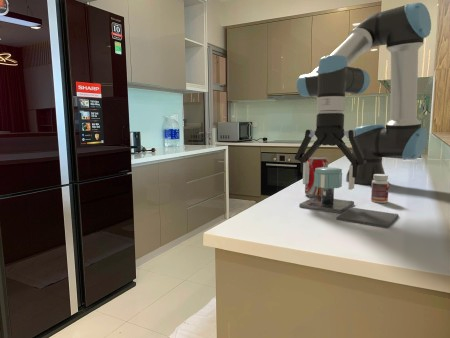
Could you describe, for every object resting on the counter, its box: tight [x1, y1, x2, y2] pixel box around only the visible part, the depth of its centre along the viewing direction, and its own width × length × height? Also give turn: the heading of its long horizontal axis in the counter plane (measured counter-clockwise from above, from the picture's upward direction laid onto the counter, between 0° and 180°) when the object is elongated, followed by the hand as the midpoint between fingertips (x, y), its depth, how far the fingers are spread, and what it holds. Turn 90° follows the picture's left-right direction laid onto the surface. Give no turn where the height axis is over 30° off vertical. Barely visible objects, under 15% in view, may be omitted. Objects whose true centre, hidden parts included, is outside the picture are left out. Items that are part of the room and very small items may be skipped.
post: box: [298, 188, 355, 215], centre depth 97 cm, size 12×12×10 cm
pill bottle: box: [370, 174, 390, 204], centre depth 102 cm, size 5×5×8 cm
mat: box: [336, 206, 399, 229], centre depth 85 cm, size 12×12×1 cm
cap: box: [314, 166, 343, 189], centre depth 96 cm, size 8×7×5 cm
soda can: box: [304, 156, 329, 198], centre depth 110 cm, size 7×7×13 cm
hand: (327, 186), depth 97 cm, fingers open, 13 cm apart
